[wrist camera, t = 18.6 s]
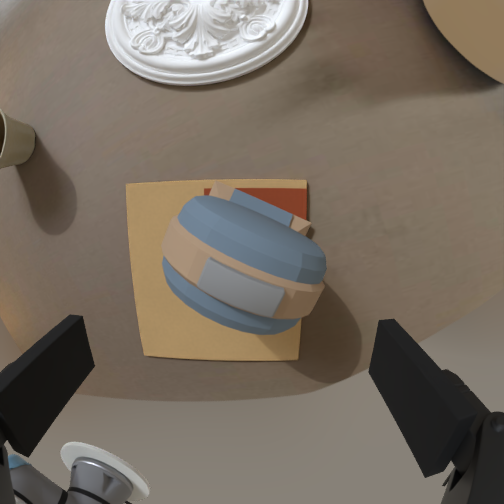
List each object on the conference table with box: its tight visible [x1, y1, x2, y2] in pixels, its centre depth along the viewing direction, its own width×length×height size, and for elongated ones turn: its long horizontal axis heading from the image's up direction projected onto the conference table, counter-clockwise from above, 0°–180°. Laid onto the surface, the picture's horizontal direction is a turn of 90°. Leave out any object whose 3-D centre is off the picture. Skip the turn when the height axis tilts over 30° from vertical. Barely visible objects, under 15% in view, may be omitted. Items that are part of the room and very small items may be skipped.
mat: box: [126, 179, 307, 361], centre depth 38 cm, size 24×22×1 cm
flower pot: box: [0, 109, 35, 168], centre depth 29 cm, size 9×9×9 cm
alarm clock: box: [161, 180, 327, 335], centre depth 27 cm, size 14×10×18 cm
